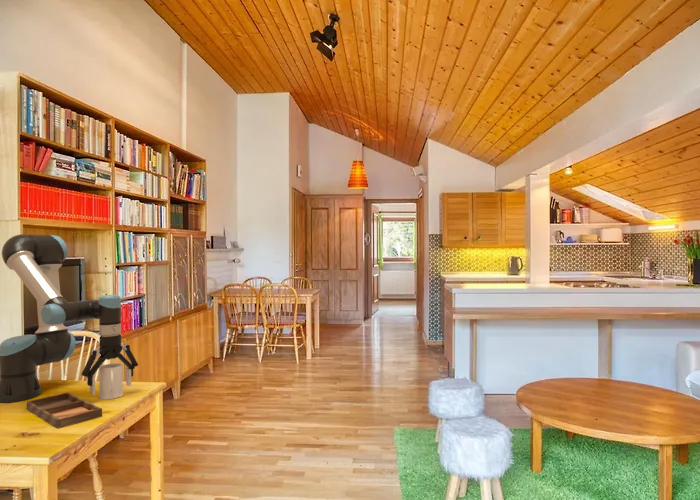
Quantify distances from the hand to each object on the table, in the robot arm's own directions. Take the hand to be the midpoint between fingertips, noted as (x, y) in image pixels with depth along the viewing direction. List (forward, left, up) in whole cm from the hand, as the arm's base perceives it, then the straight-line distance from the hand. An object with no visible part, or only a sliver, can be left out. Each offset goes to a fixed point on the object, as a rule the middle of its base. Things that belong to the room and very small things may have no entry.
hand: (111, 389), depth 178 cm
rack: (+4, -18, -3) cm, 19 cm away
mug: (0, 0, -3) cm, 3 cm away
